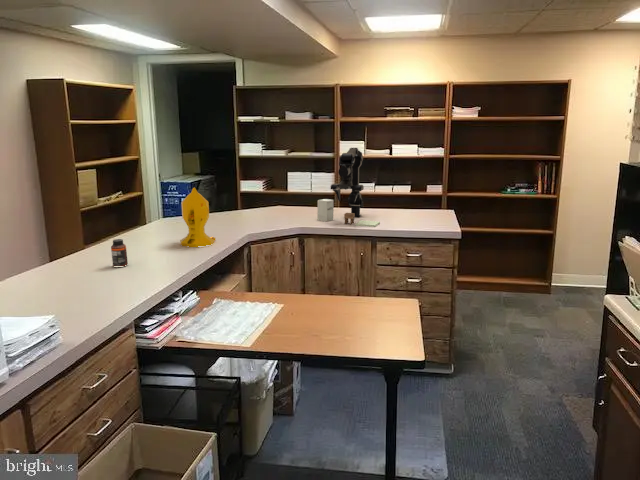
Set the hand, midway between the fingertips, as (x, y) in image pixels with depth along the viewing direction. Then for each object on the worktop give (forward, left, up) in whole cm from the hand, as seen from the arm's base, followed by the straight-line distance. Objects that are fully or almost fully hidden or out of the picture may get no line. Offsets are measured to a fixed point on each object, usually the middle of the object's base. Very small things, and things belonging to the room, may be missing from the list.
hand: (346, 201), depth 306 cm
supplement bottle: (+120, -65, -14) cm, 137 cm away
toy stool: (-1, +1, -13) cm, 13 cm away
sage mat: (-2, +12, -13) cm, 18 cm away
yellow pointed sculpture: (+73, -56, -14) cm, 93 cm away
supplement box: (-7, -16, -14) cm, 22 cm away
